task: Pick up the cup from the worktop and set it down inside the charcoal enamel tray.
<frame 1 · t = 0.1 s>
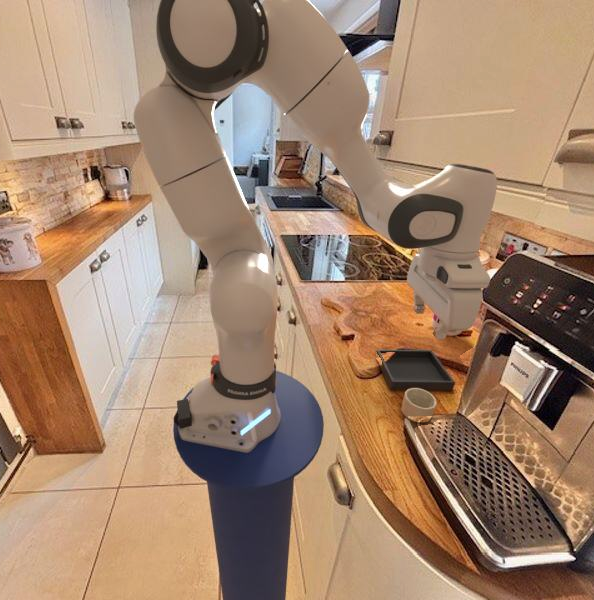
hand: (427, 323, 66), 19 cm above the worktop, tool pointing down, fingers open, 8 cm apart
cup: (415, 413, 70), on the worktop
supplement can: (445, 329, 98), on the worktop
tray: (411, 373, 81), on the worktop
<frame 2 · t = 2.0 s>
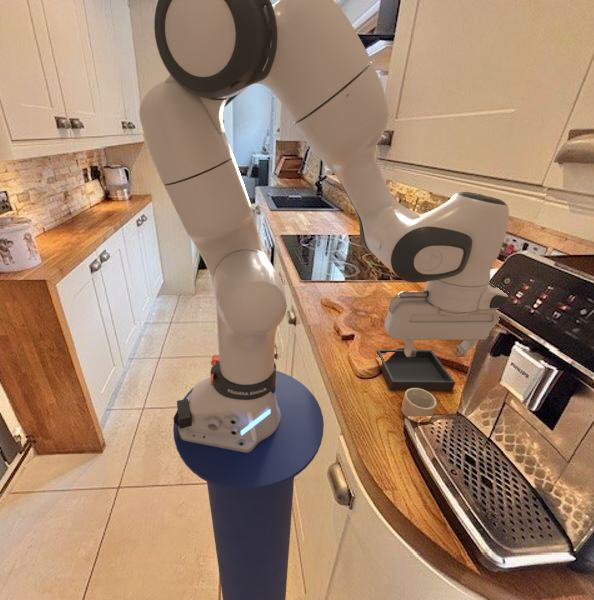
hand: (434, 355, 62), 16 cm above the worktop, tool pointing down, fingers open, 8 cm apart
nothing on the worktop moved.
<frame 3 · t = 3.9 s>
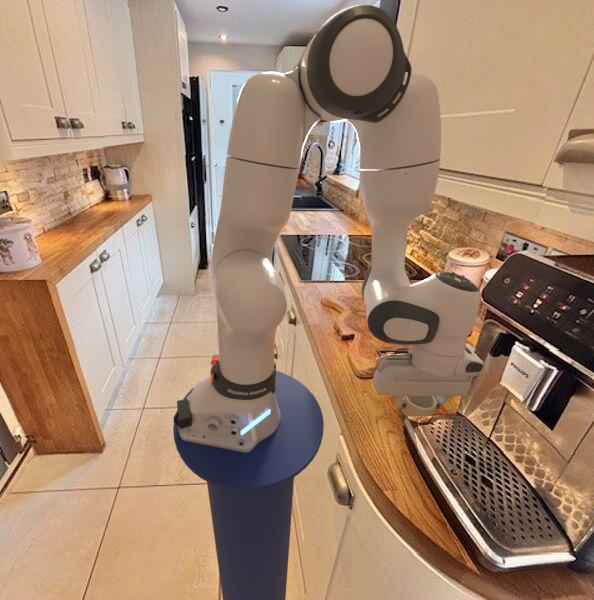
hand: (418, 406, 69), 2 cm above the worktop, tool pointing down, fingers closed on cup, 6 cm apart
cup: (415, 413, 70), on the worktop, touching gripper
everything else where it was.
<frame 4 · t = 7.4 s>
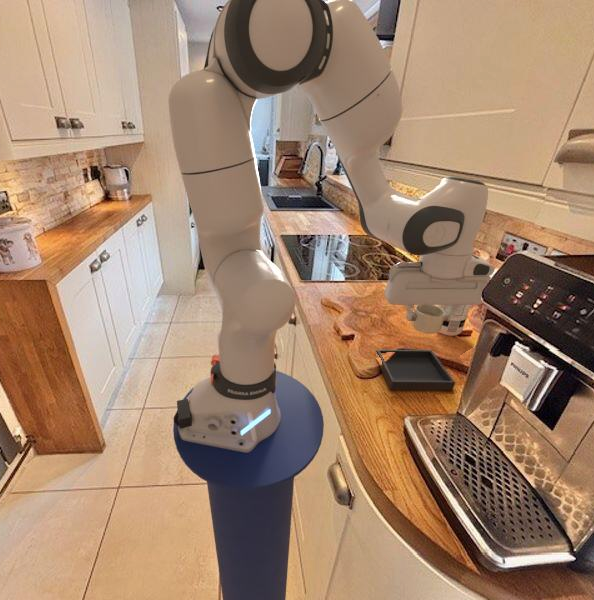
hand: (427, 319, 72), 16 cm above the worktop, tool pointing down, fingers closed on cup, 6 cm apart
cup: (425, 327, 73), point 14 cm above the worktop, touching gripper
everything else where it was.
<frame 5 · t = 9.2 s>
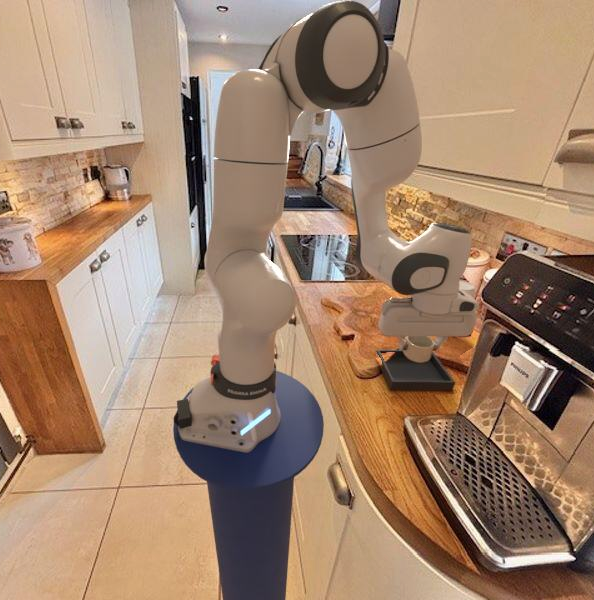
hand: (418, 348, 77), 7 cm above the worktop, tool pointing down, fingers closed on cup, 6 cm apart
cup: (416, 355, 78), point 5 cm above the worktop, touching gripper
everything else where it was.
when the fingers open (2 cm above the worktop, at t = 10.9 s): cup stays where it is, resting on tray.
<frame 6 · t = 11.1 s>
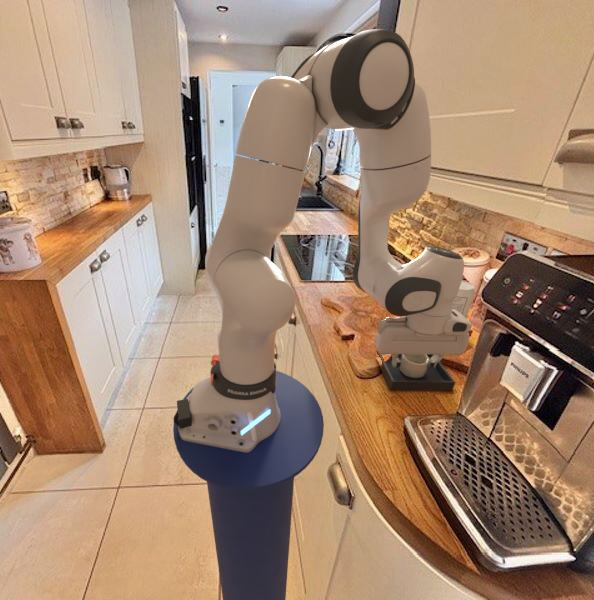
hand: (412, 365, 80), 2 cm above the worktop, tool pointing down, fingers open, 7 cm apart
cup: (411, 371, 81), point 1 cm above the worktop, touching tray
everything else where it was.
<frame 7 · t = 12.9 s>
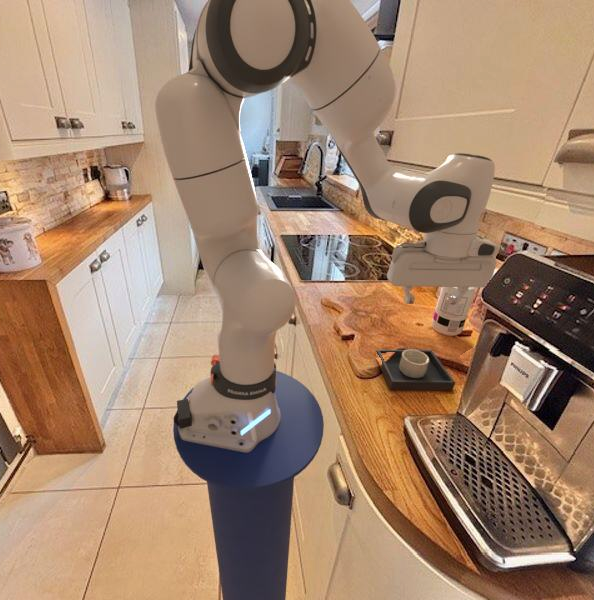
hand: (430, 303, 71), 20 cm above the worktop, tool pointing down, fingers open, 8 cm apart
nothing on the worktop moved.
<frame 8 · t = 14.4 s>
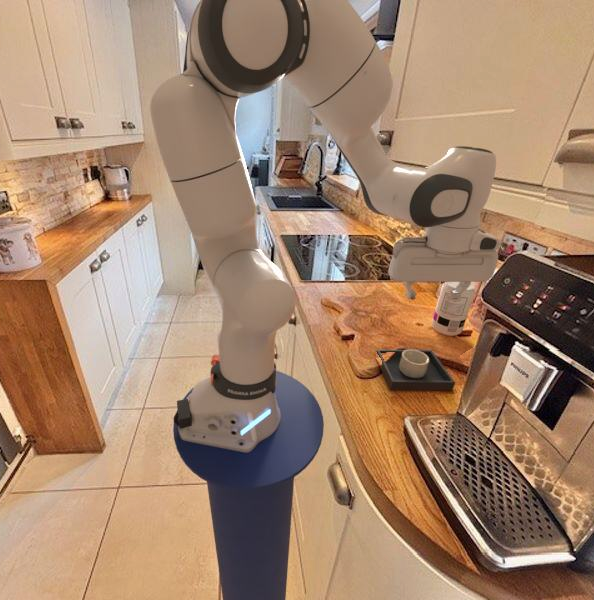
hand: (431, 298, 71), 21 cm above the worktop, tool pointing down, fingers open, 8 cm apart
nothing on the worktop moved.
at the end: cup inside the target area in the tray (0.0 cm from its centre), point 0.6 cm above the tray's base; cup tilted 0° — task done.
